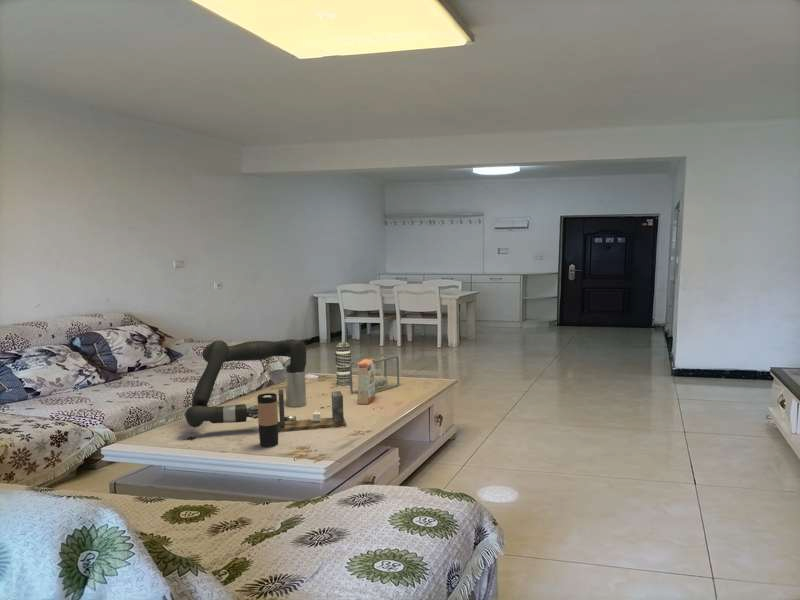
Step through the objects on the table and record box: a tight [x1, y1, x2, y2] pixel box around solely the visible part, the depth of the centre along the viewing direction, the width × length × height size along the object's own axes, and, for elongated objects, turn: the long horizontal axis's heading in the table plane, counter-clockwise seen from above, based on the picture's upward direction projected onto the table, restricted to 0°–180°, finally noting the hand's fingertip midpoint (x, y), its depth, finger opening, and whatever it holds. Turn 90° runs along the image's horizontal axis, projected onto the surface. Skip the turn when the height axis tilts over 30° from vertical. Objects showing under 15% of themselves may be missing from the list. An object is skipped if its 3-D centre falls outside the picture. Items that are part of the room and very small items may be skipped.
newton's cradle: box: [349, 354, 400, 394], centre depth 334 cm, size 30×10×18 cm, turn 142°
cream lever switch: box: [312, 409, 321, 421], centre depth 270 cm, size 3×7×3 cm, turn 12°
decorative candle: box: [334, 341, 352, 388], centre depth 346 cm, size 9×9×25 cm
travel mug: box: [257, 392, 279, 448], centre depth 242 cm, size 8×8×20 cm
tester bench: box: [278, 390, 347, 433], centre depth 267 cm, size 32×11×14 cm, turn 102°
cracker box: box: [356, 358, 376, 405], centre depth 309 cm, size 14×6×21 cm, turn 168°
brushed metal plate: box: [278, 389, 297, 427], centre depth 265 cm, size 7×9×14 cm
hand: (275, 410), depth 264 cm, fingers closed
